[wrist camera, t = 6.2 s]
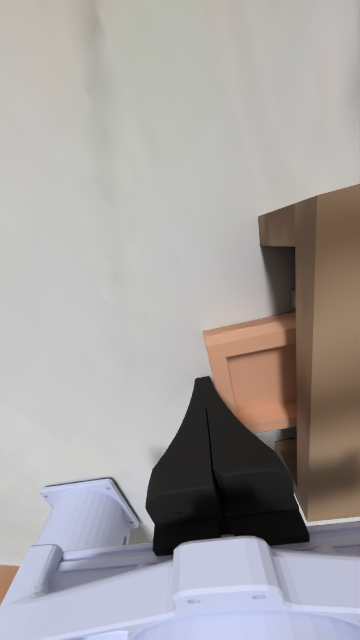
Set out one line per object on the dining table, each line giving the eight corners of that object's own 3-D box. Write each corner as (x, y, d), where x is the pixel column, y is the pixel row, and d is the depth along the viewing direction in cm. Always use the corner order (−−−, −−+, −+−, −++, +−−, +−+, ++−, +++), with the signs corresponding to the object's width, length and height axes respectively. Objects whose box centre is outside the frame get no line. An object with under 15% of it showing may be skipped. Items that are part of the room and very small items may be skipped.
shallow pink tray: (374, 388, 14) (403, 410, 12) (221, 414, 16) (226, 437, 14) (393, 289, 11) (434, 298, 10) (202, 331, 13) (206, 346, 11)
